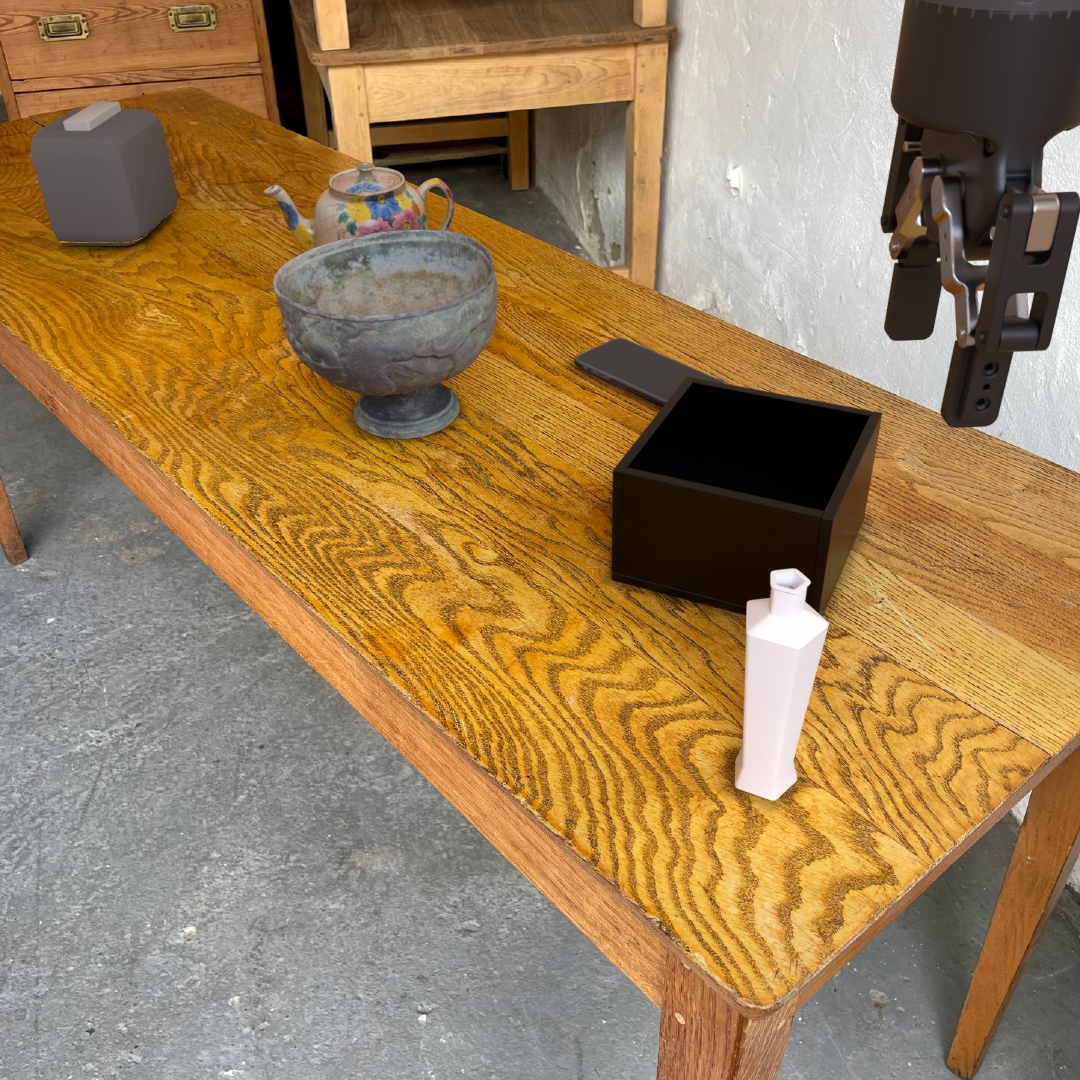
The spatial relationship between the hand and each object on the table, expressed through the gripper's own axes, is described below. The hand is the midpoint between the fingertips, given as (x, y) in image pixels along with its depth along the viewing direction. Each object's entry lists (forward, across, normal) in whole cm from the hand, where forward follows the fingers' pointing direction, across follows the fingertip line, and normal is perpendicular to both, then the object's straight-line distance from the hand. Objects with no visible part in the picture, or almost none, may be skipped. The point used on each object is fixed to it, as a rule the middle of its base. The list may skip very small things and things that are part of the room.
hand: (934, 377), depth 50 cm
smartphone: (+28, +54, +6) cm, 61 cm away
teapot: (+28, +84, +37) cm, 96 cm away
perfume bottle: (+28, +2, +5) cm, 28 cm away
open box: (+27, +25, +2) cm, 37 cm away
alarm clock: (+28, +103, +72) cm, 129 cm away
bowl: (+28, +48, +31) cm, 64 cm away
